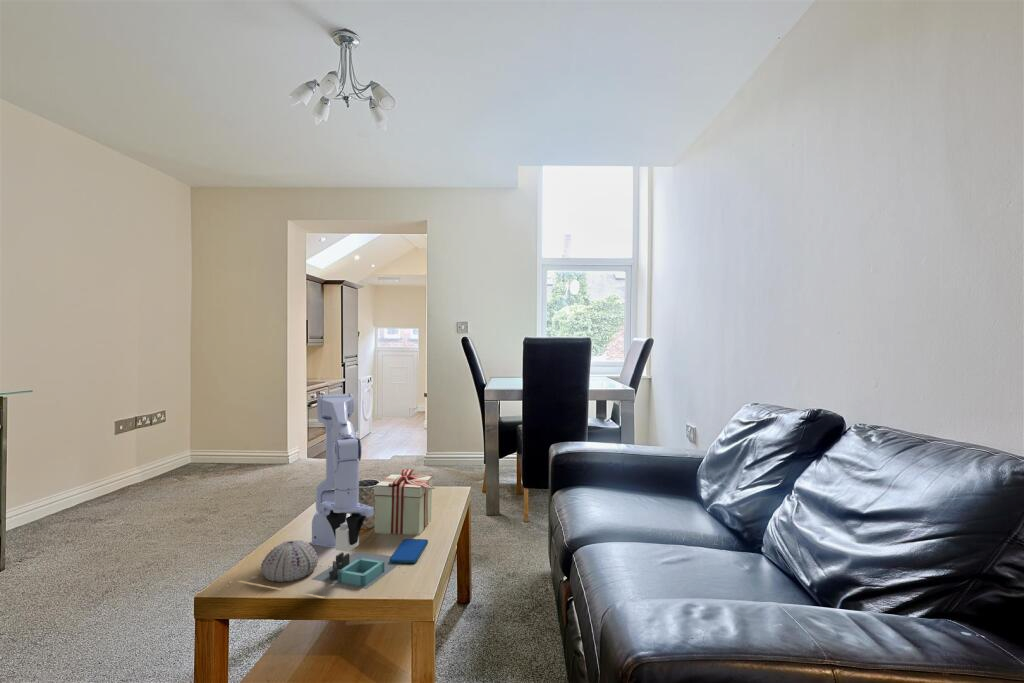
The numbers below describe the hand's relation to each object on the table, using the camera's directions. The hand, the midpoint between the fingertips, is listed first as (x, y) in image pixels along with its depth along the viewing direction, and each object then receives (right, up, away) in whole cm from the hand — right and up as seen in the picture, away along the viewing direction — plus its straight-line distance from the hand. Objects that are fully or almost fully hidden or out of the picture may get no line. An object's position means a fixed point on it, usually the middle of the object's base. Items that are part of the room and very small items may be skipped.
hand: (346, 542), depth 123 cm
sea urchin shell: (-15, -9, +3) cm, 18 cm away
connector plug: (0, -1, 0) cm, 1 cm away
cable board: (+2, -9, +5) cm, 11 cm away
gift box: (+8, -10, +37) cm, 39 cm away
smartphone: (+13, -9, +15) cm, 22 cm away
